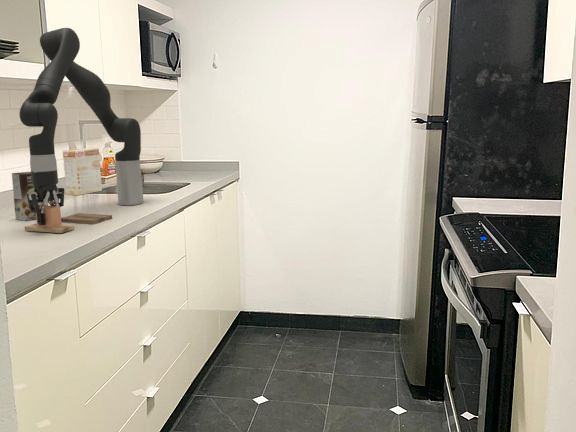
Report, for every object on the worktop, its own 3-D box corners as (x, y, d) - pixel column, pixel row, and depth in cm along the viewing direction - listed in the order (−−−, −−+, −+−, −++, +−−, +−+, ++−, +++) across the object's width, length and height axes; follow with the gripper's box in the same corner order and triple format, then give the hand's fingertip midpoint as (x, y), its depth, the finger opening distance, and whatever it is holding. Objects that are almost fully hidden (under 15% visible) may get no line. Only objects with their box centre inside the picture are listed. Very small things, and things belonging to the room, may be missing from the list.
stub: (38, 226, 189) (36, 204, 188) (74, 229, 185) (72, 206, 183) (24, 230, 184) (22, 207, 182) (61, 233, 179) (59, 209, 178)
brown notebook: (78, 216, 207) (78, 212, 207) (112, 218, 202) (112, 214, 202) (59, 221, 198) (58, 218, 198) (93, 224, 193) (93, 220, 193)
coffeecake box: (91, 190, 272) (88, 147, 268) (102, 191, 268) (99, 148, 265) (65, 194, 259) (61, 150, 255) (77, 195, 255) (73, 150, 252)
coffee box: (24, 221, 200) (19, 174, 197) (15, 219, 204) (10, 173, 201) (49, 217, 207) (45, 171, 204) (40, 215, 211) (36, 170, 208)
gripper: (50, 166, 188) (55, 218, 192) (16, 171, 175) (22, 227, 178) (69, 167, 186) (74, 219, 189) (36, 172, 173) (41, 228, 176)
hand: (49, 223), depth 184 cm, fingers open, 5 cm apart
